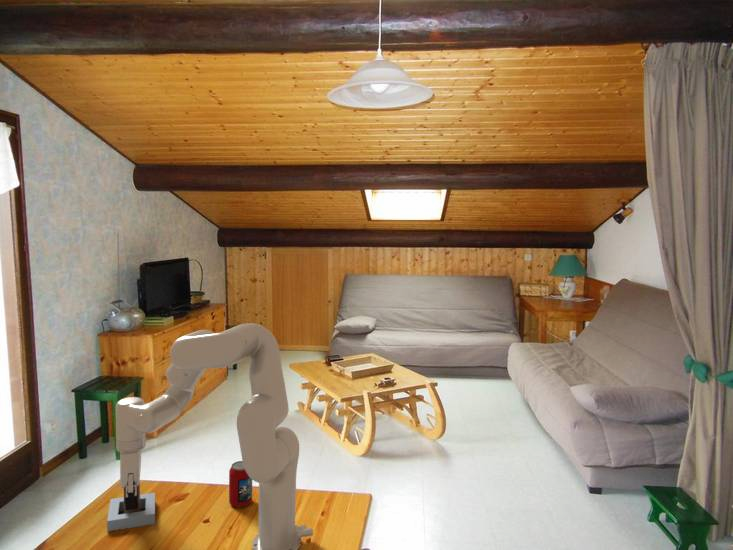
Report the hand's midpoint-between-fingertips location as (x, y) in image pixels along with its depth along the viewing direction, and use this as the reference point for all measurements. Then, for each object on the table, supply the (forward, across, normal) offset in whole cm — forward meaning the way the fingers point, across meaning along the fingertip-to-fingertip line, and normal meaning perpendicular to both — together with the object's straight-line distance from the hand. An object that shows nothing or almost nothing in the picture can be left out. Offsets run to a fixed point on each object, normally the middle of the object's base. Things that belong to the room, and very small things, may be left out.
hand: (132, 503), depth 155 cm
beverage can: (+4, +2, +30) cm, 30 cm away
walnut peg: (+4, 0, 0) cm, 4 cm away
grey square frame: (+4, 0, 0) cm, 4 cm away
